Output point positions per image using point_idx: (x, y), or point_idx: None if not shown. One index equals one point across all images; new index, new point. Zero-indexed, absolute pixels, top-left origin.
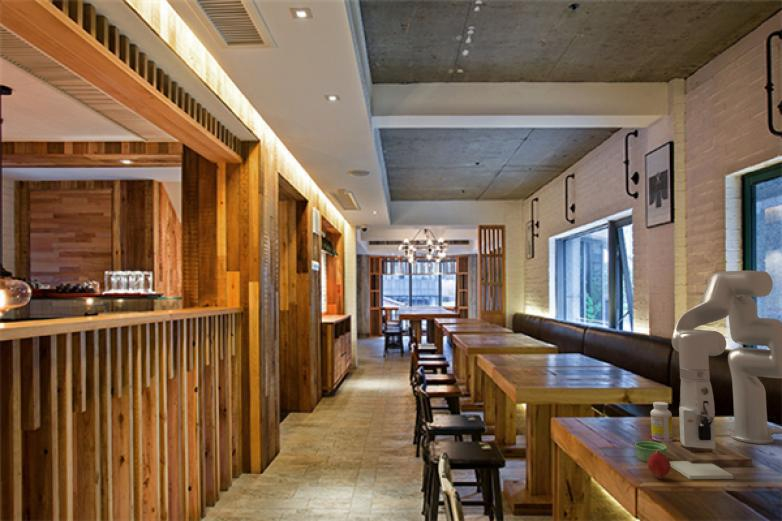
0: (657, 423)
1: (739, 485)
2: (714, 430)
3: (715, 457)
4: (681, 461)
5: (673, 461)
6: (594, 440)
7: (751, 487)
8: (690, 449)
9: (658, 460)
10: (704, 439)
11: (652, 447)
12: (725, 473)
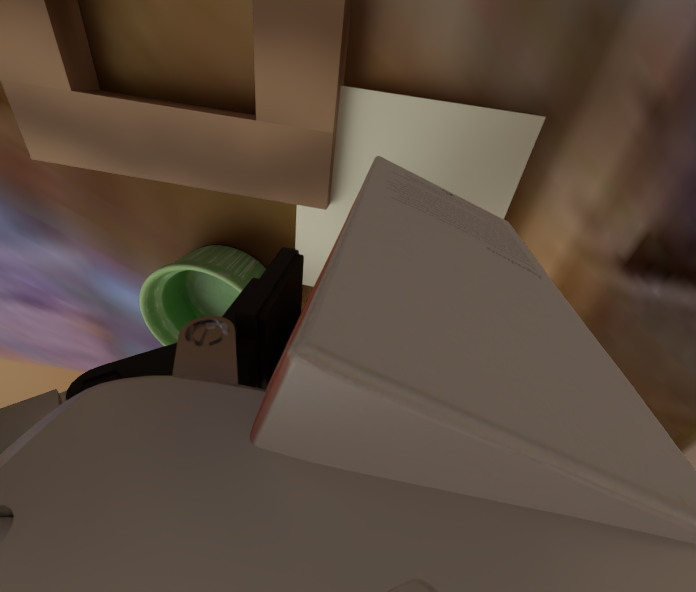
0: None
1: (618, 158)
2: (562, 295)
3: (300, 14)
4: (300, 230)
5: None
6: (38, 337)
7: (677, 114)
8: (67, 4)
9: None
10: None
11: (170, 280)
12: (506, 140)
